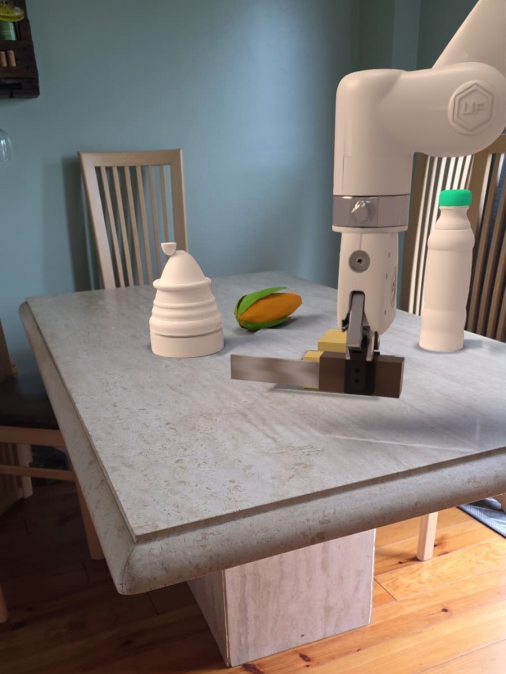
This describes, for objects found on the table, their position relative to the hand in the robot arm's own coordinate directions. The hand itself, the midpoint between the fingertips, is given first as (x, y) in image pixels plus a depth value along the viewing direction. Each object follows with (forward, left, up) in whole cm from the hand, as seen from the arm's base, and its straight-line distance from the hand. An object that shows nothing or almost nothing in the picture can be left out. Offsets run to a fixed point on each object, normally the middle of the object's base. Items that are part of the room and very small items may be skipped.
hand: (361, 388), depth 70 cm
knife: (+6, 0, 0) cm, 6 cm away
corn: (+28, -52, -6) cm, 59 cm away
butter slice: (+7, -15, -5) cm, 17 cm away
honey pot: (+37, -32, -6) cm, 49 cm away
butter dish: (+7, -22, -6) cm, 24 cm away
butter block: (+7, -25, -5) cm, 27 cm away
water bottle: (-6, -40, -6) cm, 41 cm away
